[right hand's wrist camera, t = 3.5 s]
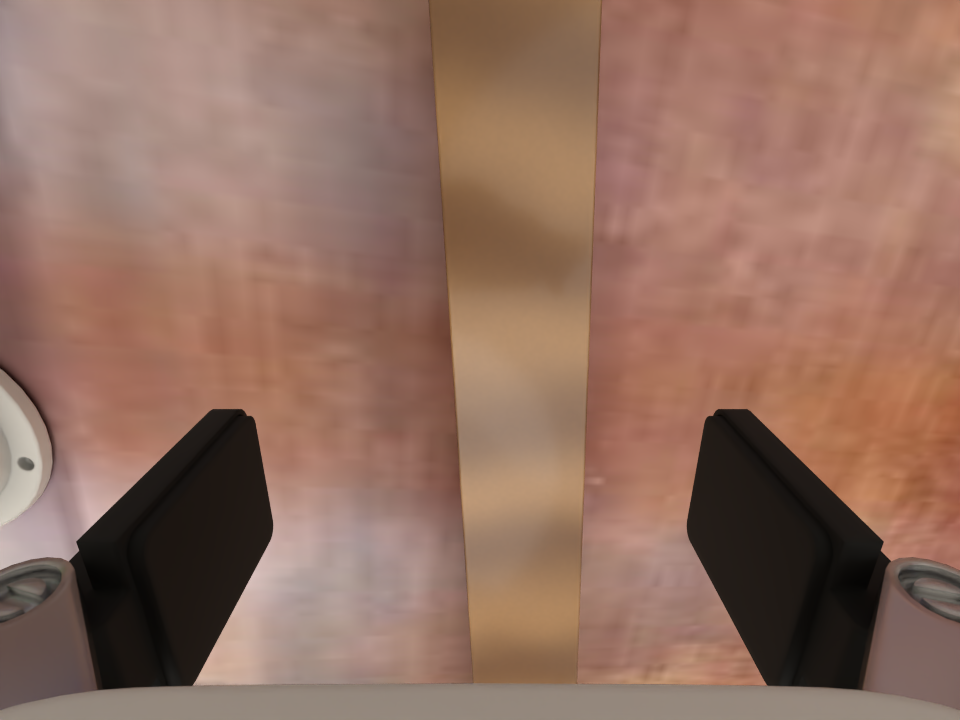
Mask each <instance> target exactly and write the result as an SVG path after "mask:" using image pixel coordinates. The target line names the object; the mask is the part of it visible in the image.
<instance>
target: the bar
mask: <svg viewBox="0 0 960 720" xmlns="http://www.w3.org/2000/svg"><path fill="white" fill-rule="evenodd" d="M601 14H602V0H429V15H430V30H431V45H432V61H433V76H434V91H435V107H436V122H437V137H438V153H439V168H440V183H441V199H442V214H443V229H444V245H445V260H446V275H447V291H448V306H449V321H450V337H451V352H452V367H453V383H454V398H455V413H456V429H457V444H458V459H459V475H460V490H461V505H462V521H463V536H464V551H465V567H466V582H467V597H468V613H469V628H470V643H471V659H472V674H473V683H498V684H577V668H578V640H579V613H580V586H581V559H582V531H583V504H584V477H585V450H586V422H587V395H588V368H589V341H590V313H591V286H592V259H593V232H594V204H595V177H596V150H597V123H598V96H599V68H600V41H601Z"/></svg>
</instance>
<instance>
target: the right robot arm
mask: <svg viewBox="0 0 960 720" xmlns="http://www.w3.org/2000/svg"><path fill="white" fill-rule="evenodd" d="M52 464H53V460H52V447H51V442H50V439H49V435H48V432H47V429H46V426H45V424H44V422H43V420H42V418H41V416H40V414H39V412H38V411H37V409H36V407H35V406H34V404H33V403H32V402H31V400H30V399H29V398H28V396H27V395H26V394H25V392H24V391H23V390H22V388H20V387H19V386H18V385H17V384H16V383H15V382H14V381H13V380H12V379H11V378H10V377H9V376H8V375H7V374H6V373H5V372H4V371H3V370H1V369H0V527H1V526H3V525H5V524H7V523H8V522H10V521H12V520H14V519H16V518H17V517H18V516H20V515H21V514H22V513H23V512H25V511H26V510H27V509H28V508H30V507H31V506H32V505H33V504H34V503H35V502H36V501H37V500H38V498H39V497H40V496H41V495H42V494H43V492H44V490H45V488H46V486H47V484H48V482H49V480H50V475H51V469H52ZM272 533H273V519H272V513H271V508H270V502H269V497H268V491H267V485H266V480H265V474H264V468H263V463H262V457H261V452H260V446H259V440H258V435H257V429H256V424H255V420H254V418H253V417H252V416H247V415H246V413H245V411H243V410H242V409H212V410H211V411H209V412H208V413H207V414H206V415H205V416H204V417H203V418H202V419H201V420H200V421H199V422H198V423H197V424H196V425H195V426H194V427H193V428H192V429H191V430H190V431H189V432H188V433H187V434H186V435H185V436H184V437H183V438H182V439H181V440H180V441H179V442H178V443H177V444H176V445H175V446H174V447H173V448H172V449H171V450H170V451H169V452H168V453H166V454H165V455H164V456H163V457H162V458H161V459H160V460H159V461H158V462H157V463H156V464H155V465H154V466H153V467H152V468H151V469H150V470H149V471H148V472H147V473H146V474H145V475H144V476H143V477H142V478H141V479H140V480H139V481H138V482H137V483H136V484H135V485H134V486H133V487H132V488H131V489H130V490H129V491H128V492H127V493H126V494H125V495H124V496H123V497H121V498H120V499H119V500H118V501H117V502H116V503H115V504H114V505H113V506H112V507H111V508H110V509H109V510H108V511H107V512H106V513H105V514H104V515H103V516H102V517H101V518H100V519H99V520H98V521H97V522H96V523H95V524H94V525H93V526H92V527H91V528H90V529H89V530H88V531H87V532H86V533H85V534H84V535H83V536H82V537H81V538H80V539H79V540H78V541H76V542H77V545H78V548H79V552H78V553H77V554H76V555H75V556H74V557H73V558H72V559H71V560H70V561H69V562H68V561H66V560H64V559H62V558H50V557H46V558H39V559H32V560H28V561H24V562H21V563H18V564H14V565H11V566H9V567H7V568H4V569H2V570H0V720H960V570H958V569H956V568H953V567H951V566H949V565H946V564H942V563H939V562H936V561H932V560H928V559H921V558H914V557H910V558H898V559H896V560H894V561H892V562H891V561H890V560H889V559H888V558H887V557H886V556H885V555H884V554H883V553H882V552H881V548H882V545H883V542H884V541H882V540H881V539H880V538H879V537H878V536H877V535H876V534H875V533H874V532H873V531H872V530H871V529H870V528H869V527H868V526H867V525H866V524H865V523H864V522H863V521H862V520H861V519H860V518H859V517H858V516H857V515H856V514H855V513H854V512H853V511H852V510H851V509H850V508H849V507H848V506H847V505H846V504H845V503H844V502H843V501H842V500H841V499H840V498H839V497H837V496H836V495H835V494H834V493H833V492H832V491H831V490H830V489H829V488H828V487H827V486H826V485H825V484H824V483H823V482H822V481H821V480H820V479H819V478H818V477H817V476H816V475H815V474H814V473H813V472H812V471H811V470H810V469H809V468H808V467H807V466H806V465H805V464H804V463H803V462H802V461H801V460H800V459H799V458H798V457H797V456H796V455H795V454H794V453H792V452H791V451H790V450H789V449H788V448H787V447H786V446H785V445H784V444H783V443H782V442H781V441H780V440H779V439H778V438H777V437H776V436H775V435H774V434H773V433H772V432H771V431H770V430H769V429H768V428H767V427H766V426H765V425H764V424H763V423H762V422H761V421H760V420H759V419H758V418H757V417H756V416H755V415H754V414H753V413H752V412H751V411H749V410H748V409H718V410H717V411H715V413H714V415H713V416H708V417H707V418H706V420H705V424H704V429H703V435H702V440H701V446H700V452H699V457H698V463H697V468H696V474H695V480H694V485H693V491H692V497H691V502H690V508H689V513H688V519H687V533H688V537H689V540H690V542H691V544H692V546H693V548H694V550H695V551H696V553H697V555H698V557H699V559H700V561H701V563H702V565H703V566H704V568H705V570H706V572H707V574H708V576H709V578H710V580H711V581H712V583H713V585H714V587H715V589H716V591H717V593H718V595H719V596H720V598H721V600H722V602H723V604H724V606H725V608H726V610H727V611H728V613H729V615H730V617H731V619H732V621H733V623H734V625H735V626H736V628H737V630H738V632H739V634H740V636H741V638H742V640H743V642H744V643H745V645H746V647H747V649H748V651H749V653H750V655H751V657H752V658H753V660H754V662H755V664H756V666H757V668H758V670H759V672H760V673H761V675H762V677H763V679H764V681H765V682H766V684H767V685H768V686H757V685H678V684H498V683H462V684H282V685H203V686H192V685H193V684H194V682H195V681H196V679H197V677H198V675H199V673H200V672H201V670H202V668H203V666H204V664H205V662H206V660H207V658H208V657H209V655H210V653H211V651H212V649H213V647H214V645H215V643H216V642H217V640H218V638H219V636H220V634H221V632H222V630H223V628H224V626H225V625H226V623H227V621H228V619H229V617H230V615H231V613H232V611H233V610H234V608H235V606H236V604H237V602H238V600H239V598H240V596H241V595H242V593H243V591H244V589H245V587H246V585H247V583H248V581H249V580H250V578H251V576H252V574H253V572H254V570H255V568H256V566H257V565H258V563H259V561H260V559H261V557H262V555H263V553H264V551H265V550H266V548H267V546H268V544H269V542H270V540H271V537H272Z"/></svg>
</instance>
